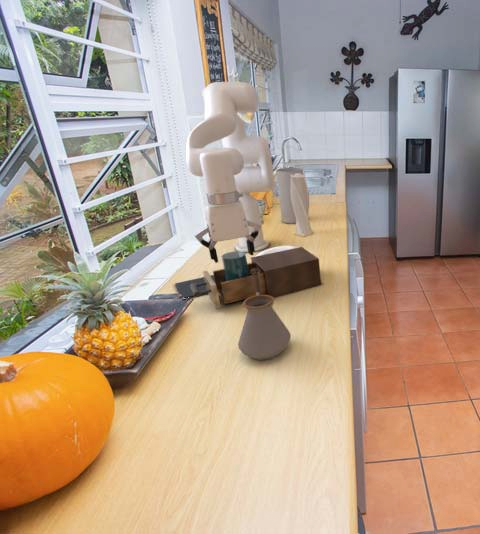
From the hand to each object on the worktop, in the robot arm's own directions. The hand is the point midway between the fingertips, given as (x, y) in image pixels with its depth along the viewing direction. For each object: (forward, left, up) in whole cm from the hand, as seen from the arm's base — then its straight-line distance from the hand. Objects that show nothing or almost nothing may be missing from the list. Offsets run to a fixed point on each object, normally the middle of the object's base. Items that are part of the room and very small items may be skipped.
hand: (233, 257), depth 111 cm
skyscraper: (-47, +40, -13) cm, 63 cm away
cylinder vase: (-71, +45, -13) cm, 85 cm away
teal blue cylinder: (0, 0, -10) cm, 10 cm away
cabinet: (0, +15, -12) cm, 19 cm away
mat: (-14, -8, -12) cm, 21 cm away
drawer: (0, -2, -11) cm, 12 cm away
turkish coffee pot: (+28, -1, -13) cm, 30 cm away
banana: (-19, +20, -13) cm, 30 cm away
